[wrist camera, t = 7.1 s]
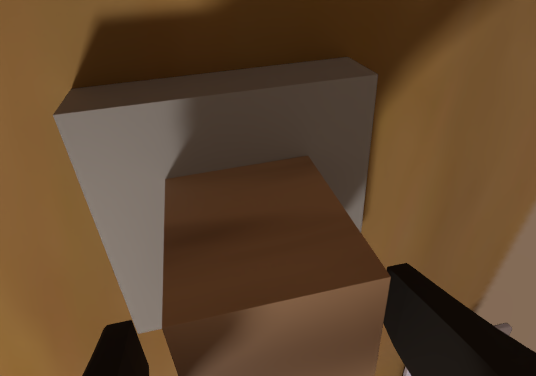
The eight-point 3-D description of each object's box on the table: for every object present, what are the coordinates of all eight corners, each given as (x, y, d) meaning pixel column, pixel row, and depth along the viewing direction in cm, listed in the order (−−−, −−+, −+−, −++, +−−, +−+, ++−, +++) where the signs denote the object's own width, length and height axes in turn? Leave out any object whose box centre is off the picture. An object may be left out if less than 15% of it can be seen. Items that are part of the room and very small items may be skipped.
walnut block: (308, 258, 16) (371, 396, 11) (191, 283, 15) (201, 442, 10) (308, 155, 13) (390, 276, 8) (165, 179, 12) (161, 328, 8)
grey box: (332, 245, 20) (355, 285, 18) (141, 282, 19) (138, 333, 16) (342, 53, 15) (377, 74, 12) (74, 84, 13) (53, 115, 11)
